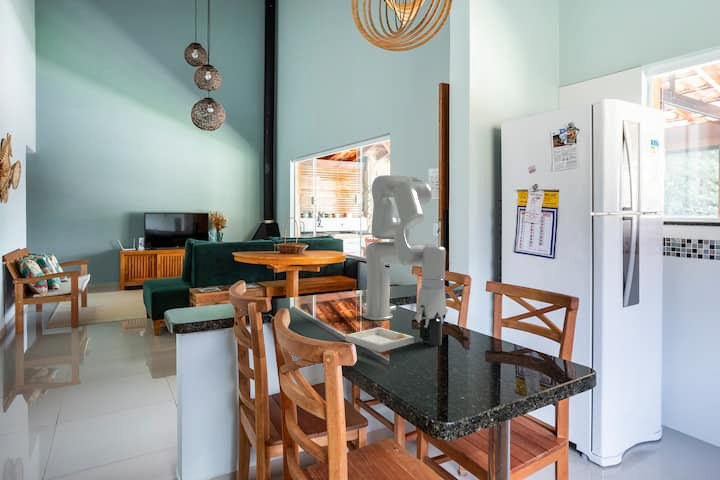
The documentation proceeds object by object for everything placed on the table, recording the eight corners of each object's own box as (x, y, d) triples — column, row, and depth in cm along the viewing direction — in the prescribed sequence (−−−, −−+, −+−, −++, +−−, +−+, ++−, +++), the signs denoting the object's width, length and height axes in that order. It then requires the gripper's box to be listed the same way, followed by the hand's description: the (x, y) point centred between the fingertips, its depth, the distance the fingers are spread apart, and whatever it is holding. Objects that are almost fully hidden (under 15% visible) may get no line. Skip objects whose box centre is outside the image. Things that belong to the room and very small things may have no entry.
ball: (400, 340, 152) (400, 331, 152) (407, 342, 150) (407, 333, 150) (394, 342, 150) (394, 333, 150) (401, 344, 148) (401, 335, 148)
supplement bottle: (427, 342, 155) (428, 307, 154) (445, 346, 151) (446, 310, 150) (416, 346, 150) (417, 310, 149) (434, 350, 145) (435, 313, 145)
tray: (378, 335, 162) (379, 327, 162) (413, 345, 150) (414, 336, 150) (345, 343, 151) (345, 334, 151) (380, 355, 139) (380, 345, 139)
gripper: (439, 279, 158) (437, 330, 159) (407, 284, 146) (405, 339, 147) (457, 282, 152) (455, 334, 153) (425, 287, 140) (423, 344, 141)
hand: (431, 336), depth 150 cm, fingers closed on supplement bottle, 6 cm apart
